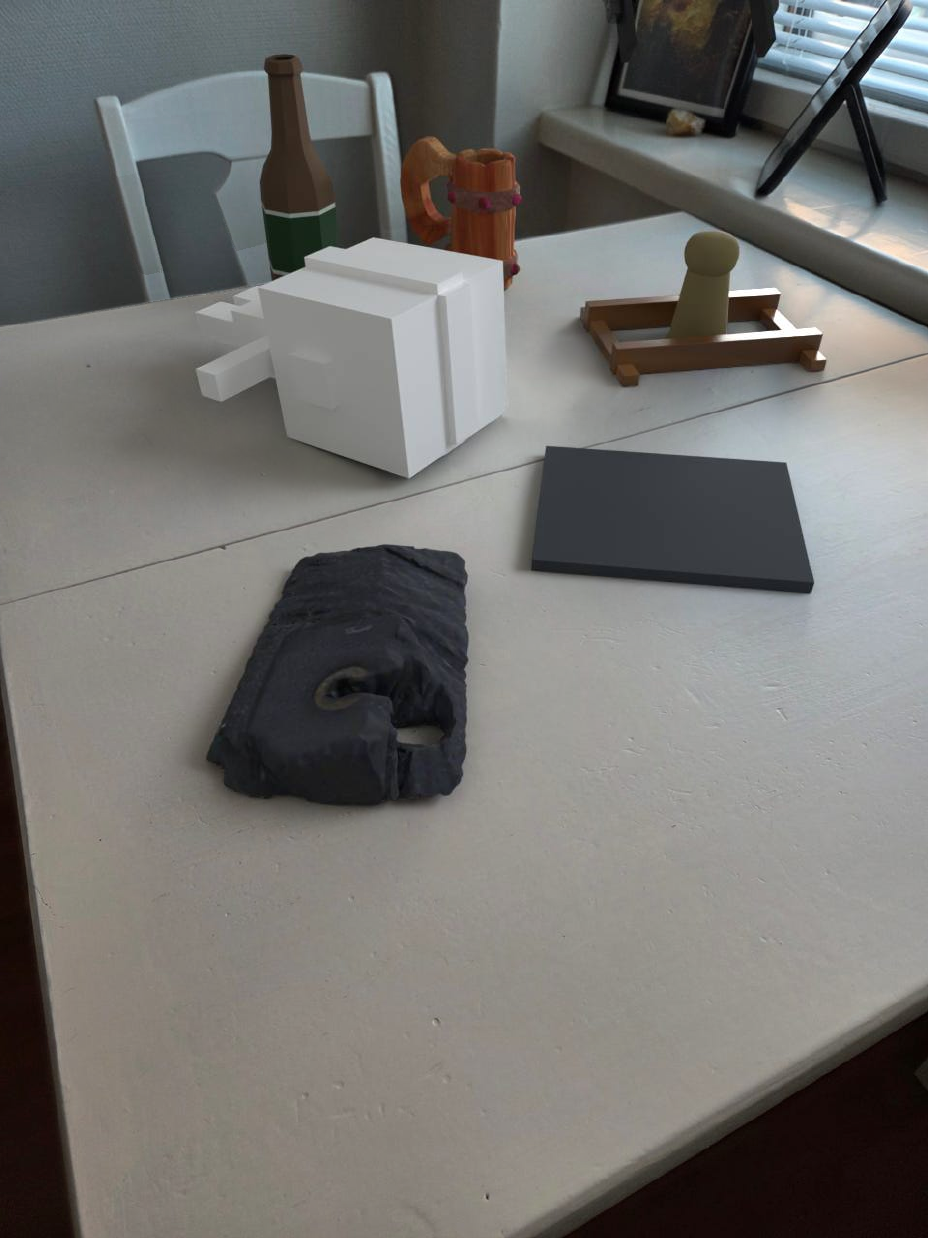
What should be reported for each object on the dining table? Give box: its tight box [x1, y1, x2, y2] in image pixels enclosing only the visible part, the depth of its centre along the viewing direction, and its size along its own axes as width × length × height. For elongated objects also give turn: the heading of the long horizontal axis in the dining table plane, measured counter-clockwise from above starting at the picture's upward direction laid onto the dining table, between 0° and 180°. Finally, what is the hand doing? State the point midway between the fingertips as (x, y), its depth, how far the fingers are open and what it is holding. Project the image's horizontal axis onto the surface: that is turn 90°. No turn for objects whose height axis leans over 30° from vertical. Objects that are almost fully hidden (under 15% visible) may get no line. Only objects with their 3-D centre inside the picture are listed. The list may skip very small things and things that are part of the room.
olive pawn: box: [666, 229, 741, 339], centre depth 94 cm, size 6×6×11 cm
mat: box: [530, 445, 815, 594], centre depth 74 cm, size 20×16×1 cm
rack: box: [579, 287, 828, 388], centre depth 97 cm, size 16×21×3 cm
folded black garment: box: [205, 543, 470, 806], centre depth 60 cm, size 15×22×5 cm
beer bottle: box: [259, 53, 340, 282], centre depth 97 cm, size 8×8×24 cm
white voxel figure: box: [195, 236, 509, 479], centre depth 83 cm, size 15×25×28 cm
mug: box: [399, 135, 523, 291], centre depth 104 cm, size 15×8×15 cm, turn 59°
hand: (698, 51), depth 90 cm, fingers open, 13 cm apart
